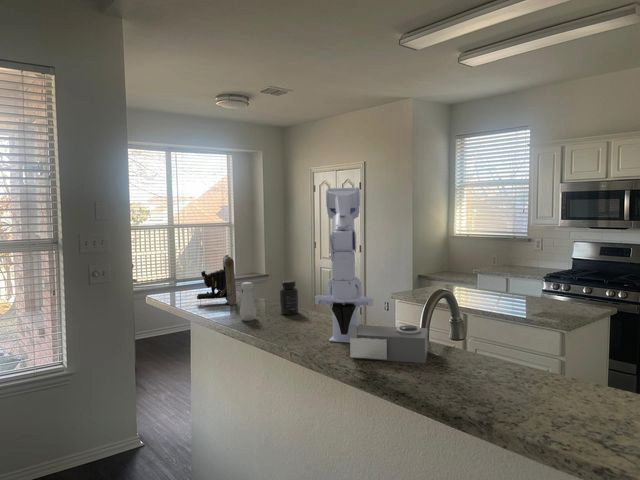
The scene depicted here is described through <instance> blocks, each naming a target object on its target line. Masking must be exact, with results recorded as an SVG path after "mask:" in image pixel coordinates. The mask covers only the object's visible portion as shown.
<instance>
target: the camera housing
mask: <svg viewBox="0 0 640 480" xmlns="http://www.w3.org/2000/svg"><path fill="white" fill-rule="evenodd" d="M358 338H376V339H387V360H386V359H371V358H356V357H351V359H358V360H372V361H373V360H374V361H386V362H403V363H416V364H426V362H427V355H428V350H429V349H428V328H427V327H418V326H417V325H410V324H409V325H408V324H407V325H400V326H386V325H385V326H384V325H363V324H362V325H361V324H359V326H358Z"/></svg>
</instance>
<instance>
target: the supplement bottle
mask: <svg viewBox="0 0 640 480" xmlns="http://www.w3.org/2000/svg"><path fill="white" fill-rule="evenodd" d="M281 283H282V284H281V287H282V288H281V289H280V290H279V307H280V314H281V315H283V316H295V315H297V314H299V312H300V308H299V307H300V305H299V302H300V300H299V290H298V288H297V287H296V286H297V285H296V280H290V279H288V280H283V281H281Z"/></svg>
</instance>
